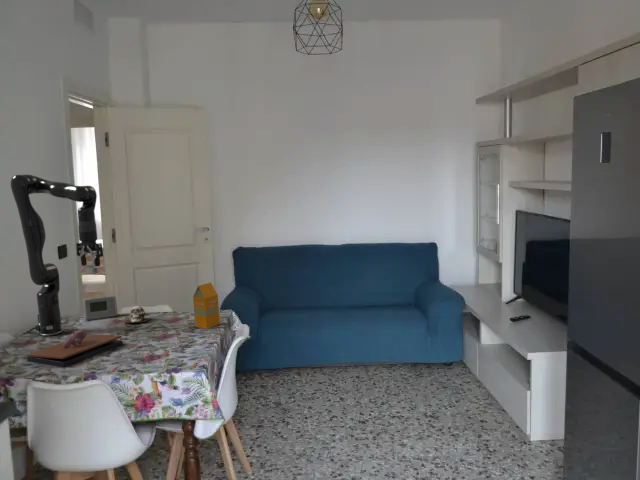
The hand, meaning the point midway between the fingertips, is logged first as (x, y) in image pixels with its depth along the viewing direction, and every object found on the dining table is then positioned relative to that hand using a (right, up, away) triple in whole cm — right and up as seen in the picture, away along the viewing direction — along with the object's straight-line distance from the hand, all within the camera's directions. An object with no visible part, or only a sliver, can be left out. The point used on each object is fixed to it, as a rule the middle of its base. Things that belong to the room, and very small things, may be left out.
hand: (90, 265), depth 257 cm
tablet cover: (+3, -33, -21) cm, 39 cm away
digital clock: (-9, -29, +37) cm, 48 cm away
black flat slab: (+3, -35, -21) cm, 41 cm away
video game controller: (+3, -32, -22) cm, 39 cm away
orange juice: (+51, -29, +13) cm, 60 cm away
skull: (+13, -29, +26) cm, 41 cm away
